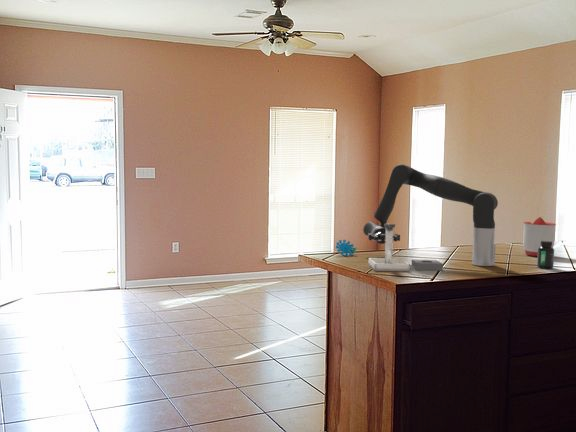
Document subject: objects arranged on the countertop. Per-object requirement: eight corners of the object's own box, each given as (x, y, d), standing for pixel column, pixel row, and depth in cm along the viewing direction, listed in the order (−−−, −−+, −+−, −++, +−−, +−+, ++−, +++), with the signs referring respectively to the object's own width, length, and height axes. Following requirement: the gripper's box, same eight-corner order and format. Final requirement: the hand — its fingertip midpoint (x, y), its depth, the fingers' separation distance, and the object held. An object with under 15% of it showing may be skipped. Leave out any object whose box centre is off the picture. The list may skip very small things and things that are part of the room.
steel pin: (392, 264, 273) (394, 223, 272) (394, 266, 268) (396, 224, 267) (381, 264, 273) (383, 223, 271) (383, 266, 268) (385, 224, 267)
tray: (401, 264, 279) (401, 258, 279) (409, 271, 262) (409, 264, 262) (368, 264, 279) (368, 257, 279) (374, 270, 262) (374, 263, 262)
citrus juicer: (547, 253, 328) (549, 216, 326) (558, 258, 311) (560, 218, 309) (517, 252, 330) (519, 215, 328) (526, 257, 312) (528, 217, 311)
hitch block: (435, 266, 277) (436, 259, 276) (442, 270, 266) (442, 263, 266) (411, 266, 276) (411, 259, 276) (417, 270, 265) (417, 263, 265)
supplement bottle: (543, 269, 276) (545, 242, 275) (533, 266, 282) (535, 240, 281) (556, 268, 278) (558, 242, 277) (546, 266, 284) (547, 240, 283)
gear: (337, 253, 300) (335, 237, 306) (333, 260, 304) (331, 244, 310) (358, 256, 302) (356, 240, 309) (354, 263, 306) (352, 247, 313)
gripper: (365, 226, 291) (371, 230, 274) (395, 227, 291) (402, 230, 275) (364, 242, 291) (370, 247, 275) (394, 242, 292) (402, 247, 276)
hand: (386, 238), depth 275 cm, fingers open, 8 cm apart
